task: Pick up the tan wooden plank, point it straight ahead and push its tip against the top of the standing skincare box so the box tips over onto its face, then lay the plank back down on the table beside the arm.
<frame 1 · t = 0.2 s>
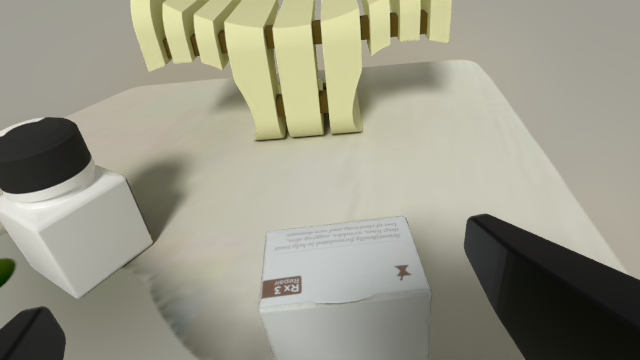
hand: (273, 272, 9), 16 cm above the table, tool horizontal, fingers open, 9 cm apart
slatted curved stool: (309, 118, 54), on the table
medicine bottle: (96, 257, 35), on the table
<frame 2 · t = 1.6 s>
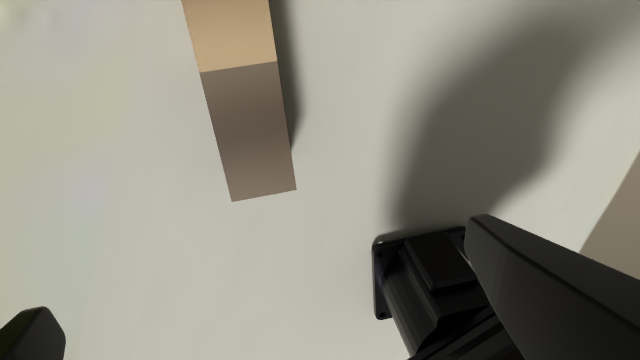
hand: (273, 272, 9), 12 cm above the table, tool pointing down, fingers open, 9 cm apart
tan wooden plank: (232, 25, 18), on the table
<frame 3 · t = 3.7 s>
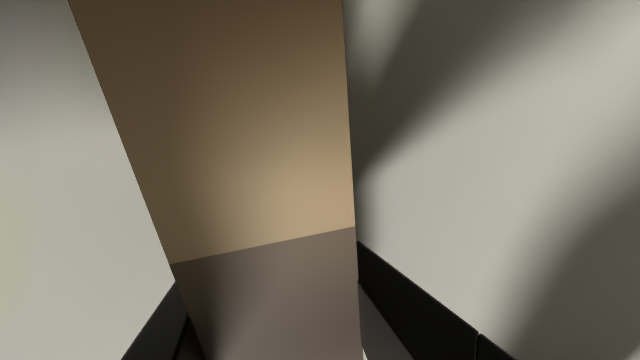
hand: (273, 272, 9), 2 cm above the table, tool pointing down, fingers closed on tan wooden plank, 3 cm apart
tan wooden plank: (243, 116, 9), on the table, touching gripper
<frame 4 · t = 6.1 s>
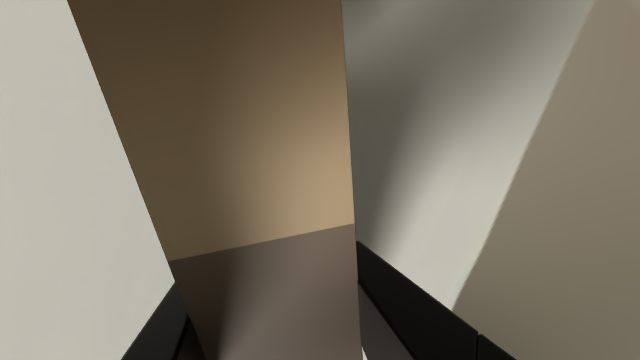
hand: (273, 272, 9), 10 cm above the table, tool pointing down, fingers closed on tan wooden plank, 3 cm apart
tan wooden plank: (242, 113, 9), point 8 cm above the table, touching gripper
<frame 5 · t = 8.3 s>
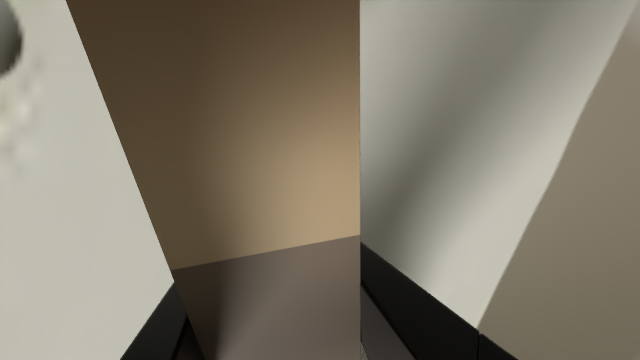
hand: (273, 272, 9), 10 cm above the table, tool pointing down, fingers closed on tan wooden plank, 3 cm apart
tan wooden plank: (246, 112, 8), point 9 cm above the table, touching gripper
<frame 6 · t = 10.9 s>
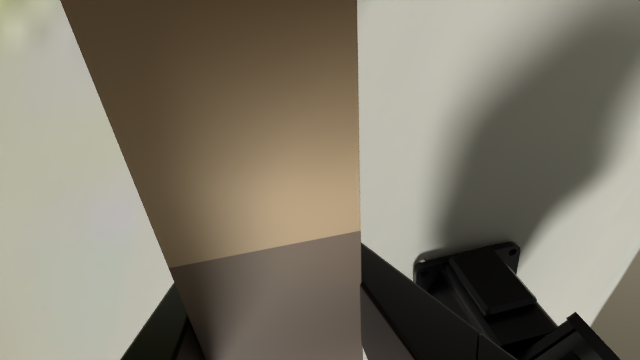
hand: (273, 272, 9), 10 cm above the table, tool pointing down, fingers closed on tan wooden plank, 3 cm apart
tan wooden plank: (245, 109, 8), point 9 cm above the table, touching gripper
when the fingers open (2 cm above the table, at t = 13.1 s): tan wooden plank drops 1 cm, on the table.
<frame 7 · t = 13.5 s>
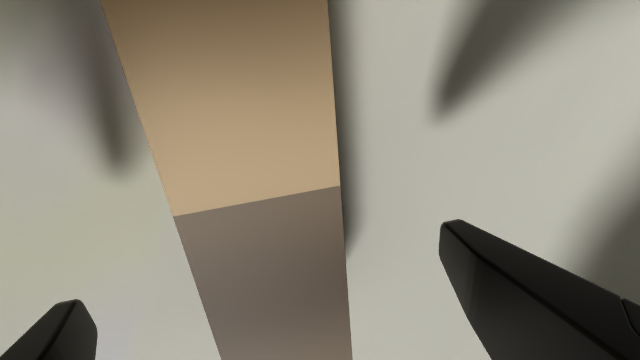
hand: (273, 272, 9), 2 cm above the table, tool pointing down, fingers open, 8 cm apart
tan wooden plank: (241, 92, 9), on the table
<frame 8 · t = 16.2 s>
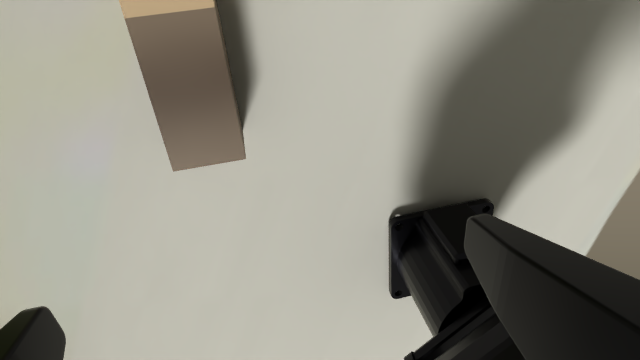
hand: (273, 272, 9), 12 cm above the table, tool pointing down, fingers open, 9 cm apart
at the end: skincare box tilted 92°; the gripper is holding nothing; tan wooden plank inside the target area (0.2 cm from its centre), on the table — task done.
